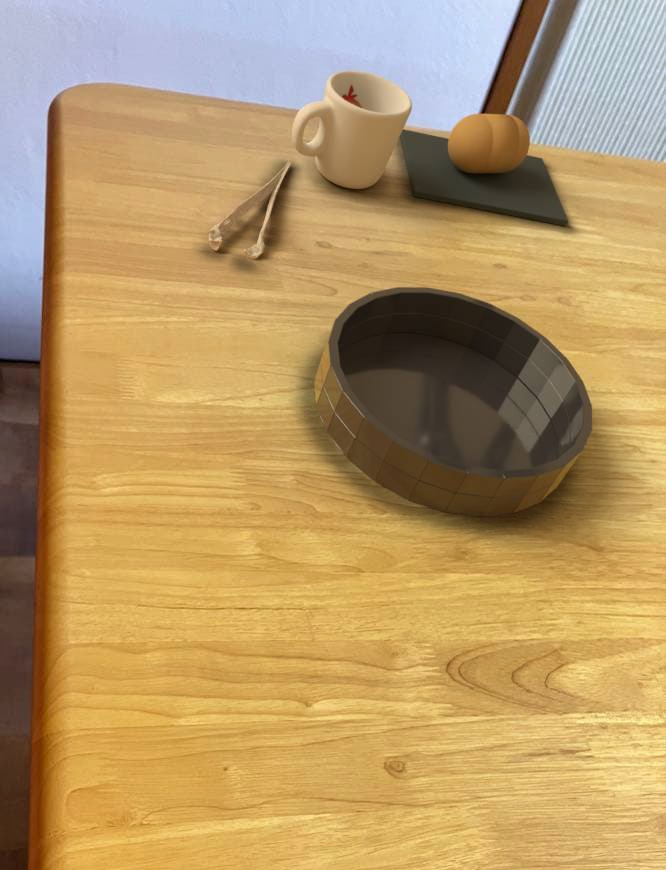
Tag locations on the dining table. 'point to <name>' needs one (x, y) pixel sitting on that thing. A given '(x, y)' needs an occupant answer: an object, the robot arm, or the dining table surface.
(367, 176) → the cup
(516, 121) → the potato
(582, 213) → the dining table surface
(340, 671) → the dining table surface
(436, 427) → the pan
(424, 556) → the dining table surface
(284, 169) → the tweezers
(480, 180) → the mat
